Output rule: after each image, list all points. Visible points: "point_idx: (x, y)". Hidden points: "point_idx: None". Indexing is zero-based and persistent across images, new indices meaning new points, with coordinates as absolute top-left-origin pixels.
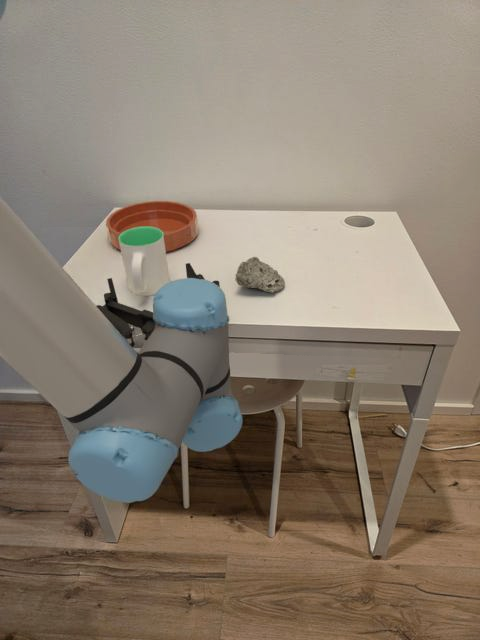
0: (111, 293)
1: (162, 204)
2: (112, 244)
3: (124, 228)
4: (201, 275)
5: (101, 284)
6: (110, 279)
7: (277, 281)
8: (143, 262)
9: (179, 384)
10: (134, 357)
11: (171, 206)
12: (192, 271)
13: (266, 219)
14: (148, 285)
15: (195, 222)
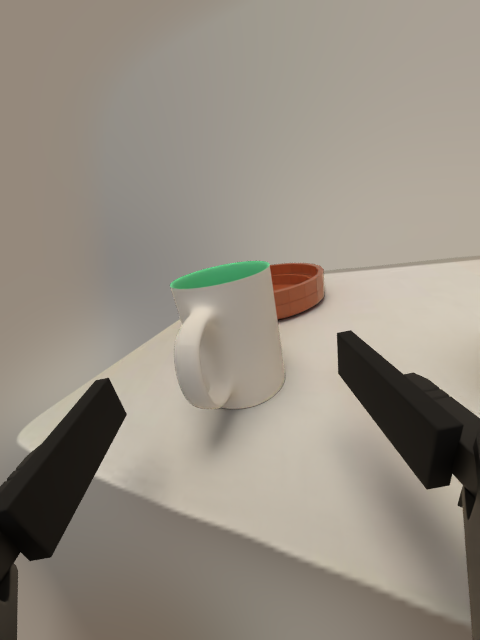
0: (27, 463)
1: (275, 267)
2: None
3: None
4: (425, 381)
5: (165, 373)
6: (100, 383)
7: None
8: (217, 331)
9: None
10: None
11: (286, 268)
12: (379, 362)
13: (425, 272)
14: (232, 388)
15: (322, 276)
